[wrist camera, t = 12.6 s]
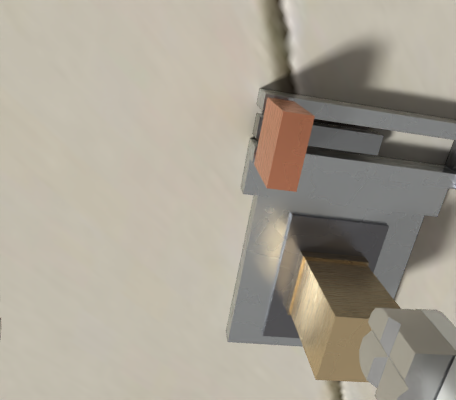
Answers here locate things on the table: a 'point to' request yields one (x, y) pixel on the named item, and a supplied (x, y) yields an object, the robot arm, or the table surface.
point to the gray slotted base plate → (333, 214)
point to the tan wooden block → (334, 311)
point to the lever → (300, 142)
